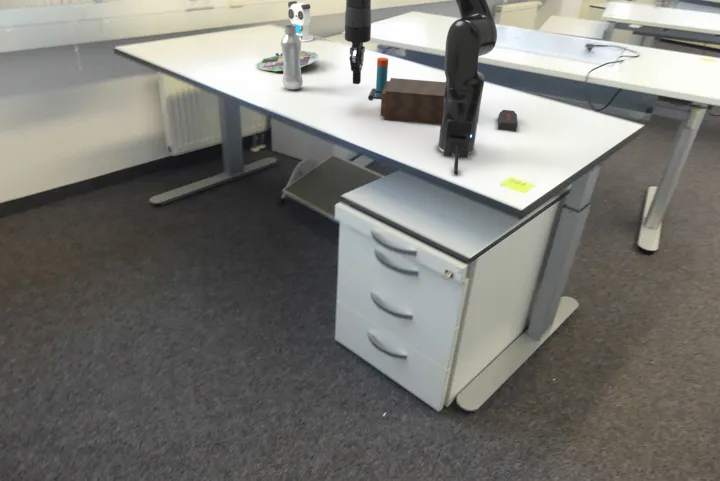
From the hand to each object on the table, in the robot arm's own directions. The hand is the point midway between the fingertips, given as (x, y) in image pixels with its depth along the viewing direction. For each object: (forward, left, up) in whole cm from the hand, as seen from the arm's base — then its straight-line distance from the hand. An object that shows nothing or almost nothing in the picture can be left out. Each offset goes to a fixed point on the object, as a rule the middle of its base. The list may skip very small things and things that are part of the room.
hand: (356, 83), depth 165 cm
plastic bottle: (+13, +24, -8) cm, 28 cm away
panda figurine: (+85, +40, -8) cm, 94 cm away
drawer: (-2, -15, -7) cm, 17 cm away
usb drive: (-3, -46, -8) cm, 47 cm away
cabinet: (-2, -19, -8) cm, 21 cm away
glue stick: (+14, -6, -8) cm, 17 cm away
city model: (+40, +33, -8) cm, 53 cm away
